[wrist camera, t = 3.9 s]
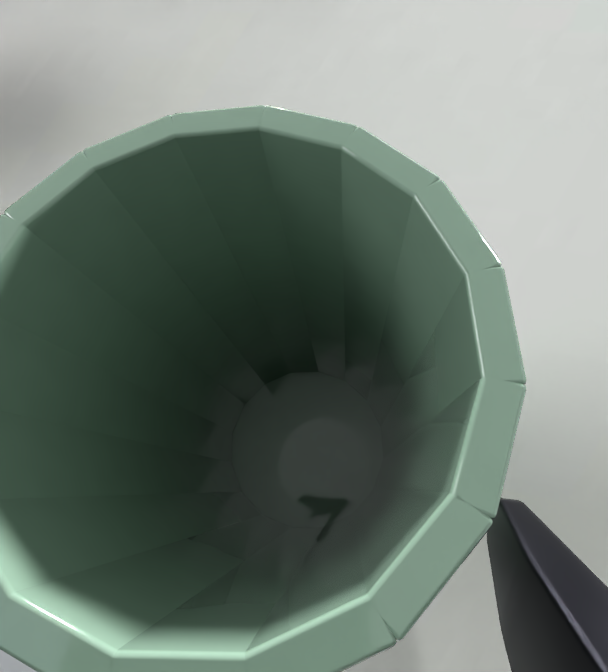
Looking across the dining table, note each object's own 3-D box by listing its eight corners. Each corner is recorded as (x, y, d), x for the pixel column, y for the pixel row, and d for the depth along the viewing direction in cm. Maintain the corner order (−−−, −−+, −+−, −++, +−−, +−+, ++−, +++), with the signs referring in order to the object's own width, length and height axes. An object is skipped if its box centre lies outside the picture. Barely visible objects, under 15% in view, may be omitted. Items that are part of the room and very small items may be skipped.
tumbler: (423, 493, 16) (677, 508, 4) (260, 569, 16) (-62, 870, 3) (347, 341, 19) (346, 41, 6) (204, 405, 18) (-109, 225, 6)
